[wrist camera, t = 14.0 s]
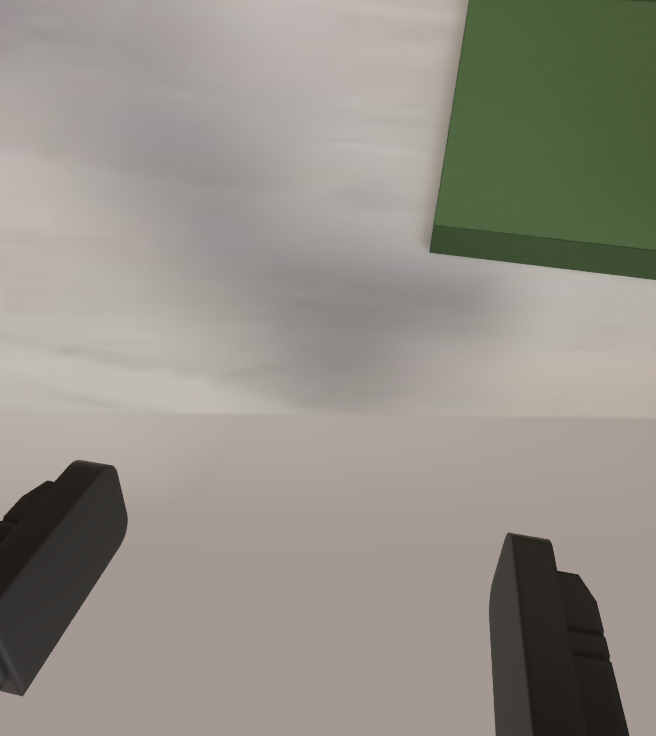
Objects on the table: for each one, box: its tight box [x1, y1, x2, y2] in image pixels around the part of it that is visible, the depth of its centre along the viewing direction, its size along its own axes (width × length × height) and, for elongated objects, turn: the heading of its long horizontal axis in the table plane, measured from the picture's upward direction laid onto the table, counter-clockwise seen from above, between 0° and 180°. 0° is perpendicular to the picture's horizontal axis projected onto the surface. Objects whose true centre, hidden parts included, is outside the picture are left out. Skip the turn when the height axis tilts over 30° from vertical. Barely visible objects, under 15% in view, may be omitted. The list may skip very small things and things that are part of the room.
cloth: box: [430, 0, 656, 280], centre depth 27 cm, size 14×14×1 cm
